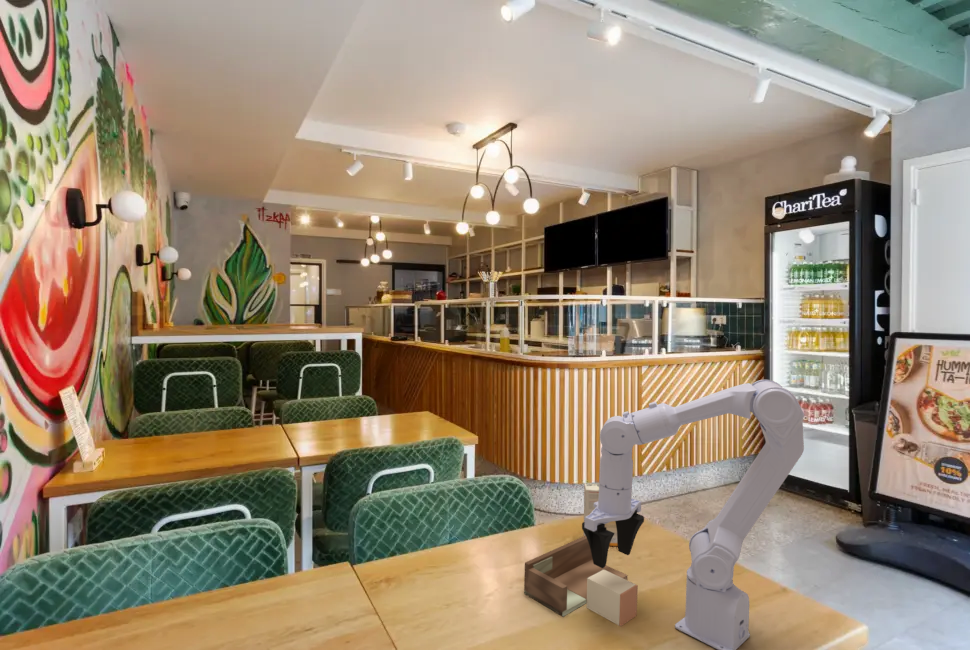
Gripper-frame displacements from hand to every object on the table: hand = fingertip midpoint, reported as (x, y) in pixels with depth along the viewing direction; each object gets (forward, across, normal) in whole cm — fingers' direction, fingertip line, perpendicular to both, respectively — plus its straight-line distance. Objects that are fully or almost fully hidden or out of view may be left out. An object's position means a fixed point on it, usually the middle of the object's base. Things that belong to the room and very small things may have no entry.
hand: (611, 559), depth 94 cm
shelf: (+10, -1, -9) cm, 13 cm away
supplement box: (+10, -22, -18) cm, 30 cm away
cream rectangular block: (+10, 0, 0) cm, 10 cm away
